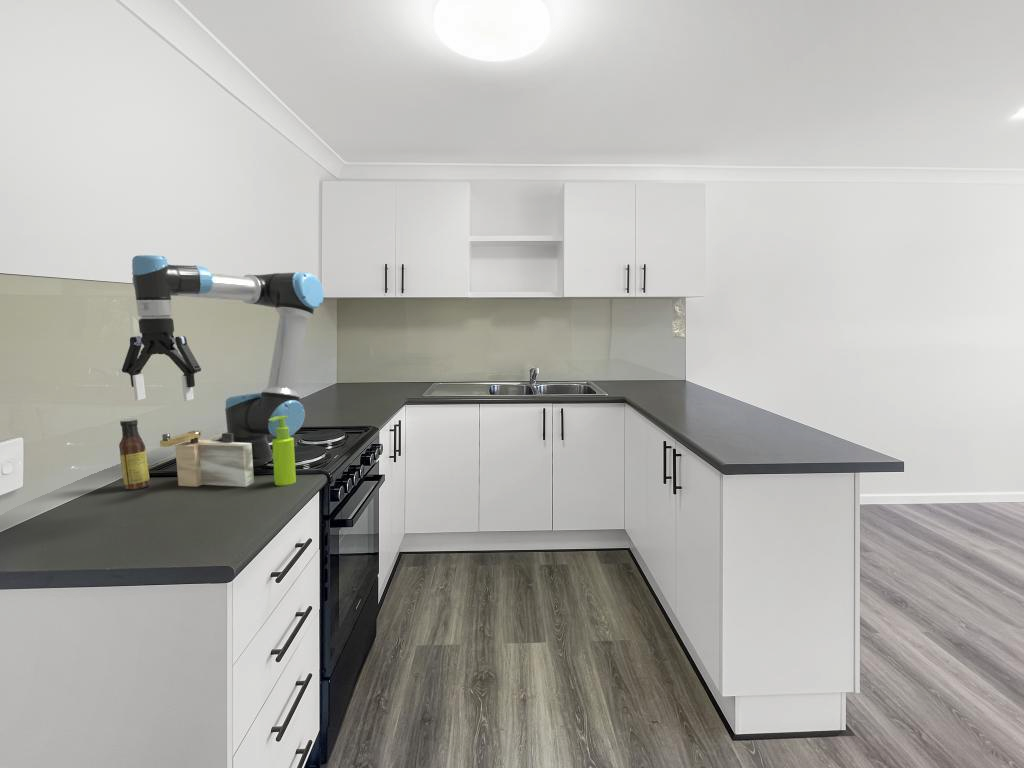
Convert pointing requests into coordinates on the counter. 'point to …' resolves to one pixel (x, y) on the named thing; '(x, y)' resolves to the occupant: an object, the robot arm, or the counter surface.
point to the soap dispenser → (283, 454)
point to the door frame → (214, 462)
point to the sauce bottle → (133, 456)
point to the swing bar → (178, 438)
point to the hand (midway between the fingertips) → (164, 399)
